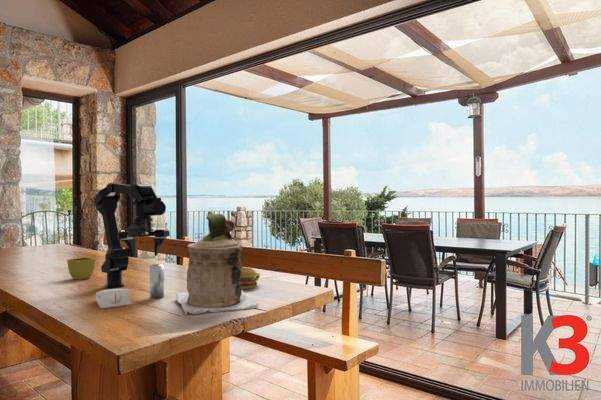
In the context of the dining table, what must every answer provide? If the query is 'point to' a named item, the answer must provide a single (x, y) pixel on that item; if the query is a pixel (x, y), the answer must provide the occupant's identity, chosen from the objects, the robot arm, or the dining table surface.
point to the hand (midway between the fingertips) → (144, 256)
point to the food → (248, 278)
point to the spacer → (156, 281)
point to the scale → (113, 297)
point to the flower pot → (81, 267)
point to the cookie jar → (215, 272)
